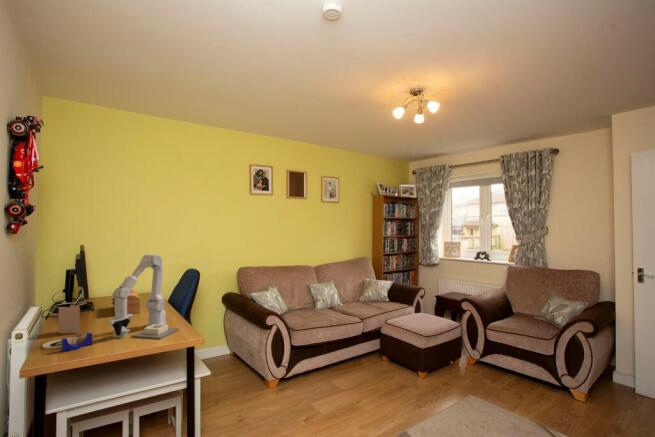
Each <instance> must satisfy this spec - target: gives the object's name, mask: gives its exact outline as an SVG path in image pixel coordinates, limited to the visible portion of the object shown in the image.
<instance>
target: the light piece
mask: <svg viewBox="0 0 655 437" xmlns="http://www.w3.org/2000/svg"><path fill="white" fill-rule="evenodd" d="M87 333H92V331H89V332H82V333H76V336H70V337H65V338H66V339H67V341H68V343H69V344H71V345H76V344H79V343H81V342H82V341H83V340H84V339H85V338H86V336H87ZM62 339H63V338H60V339H53V340H51V341H48V342H46V343H43V344H42V349H44V348H46V349H45V350H53V349H59V348H62ZM58 347H59V348H58ZM52 348H53V349H52Z"/></svg>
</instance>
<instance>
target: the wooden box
mask: <svg viewBox="0 0 655 437" xmlns="http://www.w3.org/2000/svg"><path fill="white" fill-rule="evenodd" d="M111 304H112V307H113V311H114V313H115V298H114V297H113V298H112V303H111ZM140 313H141V302H140V297H139V295H138V293H137V291H135V289H133V288H132V289H131V291H130V295H129V296H128V297H127V315H128V314H133V315H135V314H136V315H137V314H140Z"/></svg>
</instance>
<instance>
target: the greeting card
mask: <svg viewBox="0 0 655 437" xmlns="http://www.w3.org/2000/svg"><path fill="white" fill-rule="evenodd" d="M80 312H81V306H77V305H74V304H70V306H68V307H67V306H61V307H60V306H59V307H58V333H61V334H80V333H81V332H80V320H81V318H80Z"/></svg>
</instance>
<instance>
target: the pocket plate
mask: <svg viewBox="0 0 655 437" xmlns="http://www.w3.org/2000/svg"><path fill="white" fill-rule="evenodd" d="M178 331H180V328H179V327H178V328H177V327H169V325H168V324H164V325H162V324H153V325H151V326H148V327H144V328H143V330H142V331H139V332H136V333H134V334H132V335H131V338H135V339H137V338H138V339H150V340H151V339H152V340H162V339H164V338H167V337H169V336H170V335H173V334H174V333H176V332H178Z"/></svg>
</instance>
